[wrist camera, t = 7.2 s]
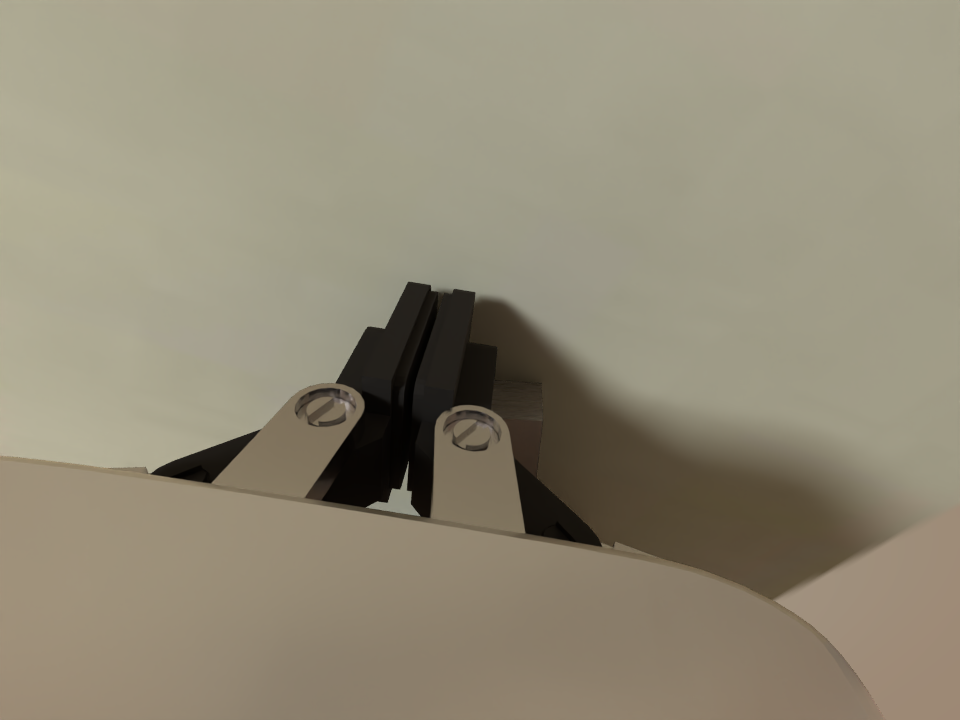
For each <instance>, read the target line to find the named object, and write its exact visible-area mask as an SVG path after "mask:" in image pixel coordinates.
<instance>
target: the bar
mask: <svg viewBox="0 0 960 720" xmlns="http://www.w3.org/2000/svg"><path fill="white" fill-rule="evenodd" d="M491 411H493V412H494V413H496V414H497V415H499V416H500V417H501V418H502V419H503V420H504V422H505V423H506V424H507V427H508V430H509V433H510V439H511V446H512V452H513V457H514V458H515V459H516V460H517V461H519V462H520V463H521V464H522V465H523V466H524V467H525V468H526V469H527V470H528V471H529V472H530V473H531V474H533V475H534V476H535V477H536V476H537V467H538V459H539V451H540V442H541V434H542V425H543V409H542V383H529V382H513V381H497V380H494V386H493V396H492V406H491Z"/></svg>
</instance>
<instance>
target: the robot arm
mask: <svg viewBox="0 0 960 720" xmlns="http://www.w3.org/2000/svg"><path fill="white" fill-rule="evenodd" d="M474 300H475V292H470V291H464V290H457V289H454V290H453V293H452V294H446V293H445V294H444V296H443V299H442V302H441V305H440V308H439V311H438V314H437V306H438V292H434V291H431V285H426V284H420V283H414V282H408V283H407V285H406V287H405V290H404V292H403V294H402V296H401V298H400V300H399V302H398V304H397V306H396V308H395V310H394V312H393V314H392V316H391V318H390V320H389V322H388V324H387V326H386V328H385V329H382V328H376V327H367V329H366V330H365V332H364V333H363V335H362V337H361V339H360V340H359V342H358V344H357V346H356V348H355V349H354V351H353V353H352V355H351V357H350V358H349V360H348V362H347V364H346V365H345V367H344V369H343V371H342V373H341V374H340V376H339V378H338V380H337V381H336V383H322V384H317V385H313V386H309V387H307V388H305V389H302V390H300V391H299V392H297V393H296V394H295V395H294V396H292V397H291V398H290V399H289V400H288V402H287V403H286V404H285V405H284V406H283V407H282V408H281V409H280V410H279V411H278V412H277V413H276V414H275V416H274V417H273V418H272V419H271V420H270V421H269V422H268V423H267V424H266V425H265V426H264V427H263V428H262V429H261V430H258V431H255V432H252V433H249V434H247V435H244V436H241V437H238V438H236V439H233V440H230V441H227V442H225V443H222V444H219V445H216V446H213V447H211V448H208V449H205V450H202V451H200V452H197V453H194V454H191V455H189V456H186V457H183V458H180V459H178V460H175V461H172V462H170V463H168V464H166V465H164V466H162V467H159V468H158V469H157V470H155V471H154V472H152V473H148V471H147V469H146V467H133V468H101V467H94V466H87V465H80V464H72V463H64V462H55V461H46V460H37V459H29V458H20V457H8V456H0V720H885V718H884V716H883V715H882V713H881V712H880V710H879V708H878V707H877V705H876V704H875V702H874V700H873V698H872V697H871V695H870V694H869V692H868V691H867V689H866V688H865V686H864V685H863V683H862V682H861V680H860V679H859V678H858V676H857V675H856V673H855V672H854V671H853V669H852V668H851V667H850V665H849V664H848V663H847V662H846V660H845V659H844V658H843V656H842V655H841V654H840V653H839V652H838V651H837V650H836V649H835V648H834V646H833V645H832V644H831V643H830V642H829V641H828V640H827V639H826V638H825V637H824V636H823V635H822V634H820V633H819V632H818V631H817V630H816V629H815V628H814V627H813V626H811V625H810V624H809V623H807V622H806V621H804V620H803V619H801V618H800V617H799V616H797V615H796V614H794V613H793V612H791V611H789V610H788V609H786V608H785V607H783V606H781V605H780V604H778V603H776V602H775V601H773V600H771V599H769V598H767V597H765V596H763V595H761V594H759V593H757V592H755V591H753V590H751V589H749V588H747V587H745V586H743V585H741V584H738V583H736V582H733V581H731V580H728V579H725V578H723V577H720V576H718V575H715V574H712V573H710V572H707V571H705V570H701V569H698V568H694V567H691V566H687V565H684V564H680V563H677V562H673V561H669V560H664V559H662V558H659V557H656V556H654V555H651V554H648V553H645V552H643V551H640V550H637V549H634V548H632V547H629V546H626V545H623V544H621V543H618V542H615V543H614V545H613V547H611V546H609V545H606V544H603V543H600V541H599V539H598V537H597V536H596V534H595V533H594V532H593V531H592V530H591V529H590V527H589V526H588V525H587V524H585V523H584V522H583V521H582V520H581V519H580V518H579V517H578V516H577V515H576V514H575V513H574V512H572V511H571V510H570V509H569V508H568V507H567V506H566V505H565V504H564V503H563V502H562V501H561V500H560V499H558V498H557V497H556V496H555V495H554V494H553V493H552V492H551V491H550V490H549V489H548V488H547V487H546V486H544V485H543V484H542V483H541V482H540V481H539V480H538V479H537V478H536V477H535V476H534V475H533V474H531V473H530V472H529V471H528V470H527V469H526V468H525V467H524V466H523V465H522V464H521V463H520V462H519V461H517V460H516V459H515V458H514V457H513V452H512V446H511V439H510V433H509V430H508V427H507V424H506V423H505V422H504V420H503V419H502V418H501V417H500V416H499V415H497V414H496V413H494V412H493V411H491V406H492V396H493V386H494V377H495V367H496V358H497V347H495V346H488V345H482V344H476V343H470V342H469V336H470V329H471V322H472V315H473V307H474ZM408 461H409V468H408V483H407V491H412V497H411V505H412V506H413V507H414V508H415V510H416V511H417V512H418V513H419V515H420V516H421V517H420V516H414V515H408V514H401V513H395V512H389V511H382V510H376V509H370V508H366V507H367V506H369V505H371V504H373V503H375V502H377V501H379V502H385V503H388V500H389V496H390V493H391V490H392V488H394V489H400V488H401V486H402V482H403V479H404V475H405V472H406V468H407V465H408Z"/></svg>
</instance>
